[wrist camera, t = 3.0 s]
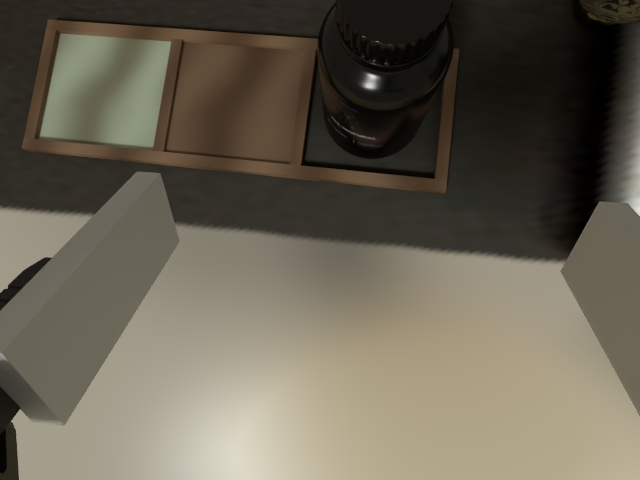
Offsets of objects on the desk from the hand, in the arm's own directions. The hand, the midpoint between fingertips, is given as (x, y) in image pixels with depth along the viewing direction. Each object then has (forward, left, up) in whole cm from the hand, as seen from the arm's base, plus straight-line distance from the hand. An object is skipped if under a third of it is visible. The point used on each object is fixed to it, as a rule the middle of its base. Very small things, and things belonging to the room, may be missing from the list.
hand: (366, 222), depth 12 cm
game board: (+13, -4, -14) cm, 20 cm away
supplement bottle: (+5, -9, -15) cm, 18 cm away
